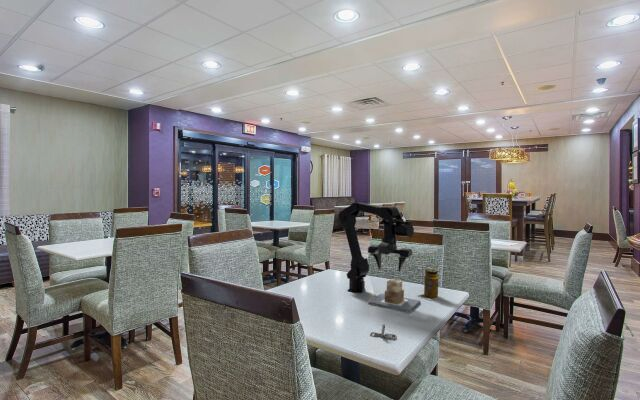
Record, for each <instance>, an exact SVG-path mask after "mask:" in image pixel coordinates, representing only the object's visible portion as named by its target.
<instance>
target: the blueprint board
mask: <svg viewBox="0 0 640 400" xmlns="http://www.w3.org/2000/svg"><path fill="white" fill-rule="evenodd" d="M384 301H385V293H379V294H378V295H376V296H374V297H373V298H372V299H370V300H369V301H368V302H367V305H371V306H376V307H382V308H387V309H392V310H396V311H399V312H400V311H401V312H406V313H411V312H412V311H413V310H414V309H416V308H417V306H418V305H419V304H421V300H420V299H414V298H409V297H408V298H407V297H404V300H403V301H402V302H401V303H399V304H393V303H388V302H384Z"/></svg>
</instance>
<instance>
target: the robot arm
mask: <svg viewBox="0 0 640 400" xmlns="http://www.w3.org/2000/svg"><path fill="white" fill-rule="evenodd" d="M360 212H363V213H367V214H372V215H374V216H378V218H380V219H382V220H381V221H379V223H378V224H379V225H382V227H383V230H382V231H383V234H382V235H383V237H381V241H380V243H379V244H378V245H377V244H373V245H370V246H368V247H367V253H369V254H370V255H371V256H373V257H374V259H375V262H376V265H377V268H378V270H380V269H381V267H382V255H386V256H387V255H389V254H396V255H399V256H398V267H397V268H398V273H400V272H401V270H402V269H403V265H404V264H405V261H406V259H408V258H409V257H411V256H413V250H412V249H411V248H405V247H403V248H400V249H398V246H397V241H398V237H402V238H403V237H404V238H412V237H413V235H414V233H415V229H414V226H413V224H412V221H411V220H407V221H405V220H404V218H403V217H402V216H401V214H400V211H399V209H398V207H396V206H380V205H374V204H370V203H365V202H362V201H353V203H351V204H350V205H349V206H347V207H345V208H344V209H343V210H340V211H339V213H338V214H337V217H338V221H339V223H340V225H341V226H342V228H343V229H344V231H345V235H346V240H347V243H348V247H349V251H350V255H351V261H350V263H349V264H350V265H349V266H350V270H349V271H347V273H346V278H347V279H349V280H348V281H349V285H348V287H349V288H348V289H347V292H353V293H359V294H360V293H362V292H364V291H366V288H365V287H366V281H365V278H366V277H367V274H368V273H369V271H370V264H369V260H368V258H367V257H366V258H364V256H363V254H362V250H361V246H360V243H359V238H358V234H357V231H356V222H357V217H358V216H359V215H360ZM397 236H398V237H397Z"/></svg>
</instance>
